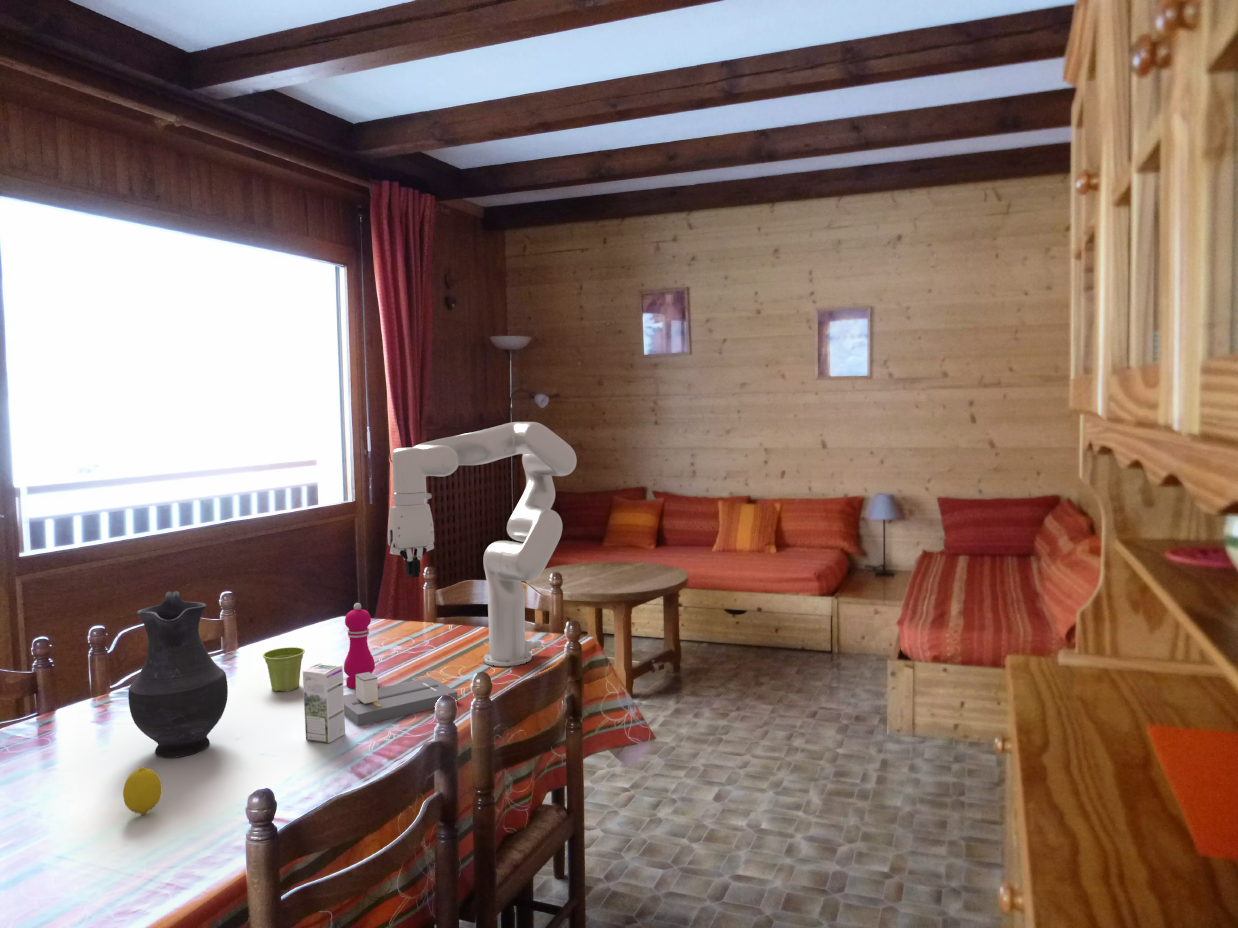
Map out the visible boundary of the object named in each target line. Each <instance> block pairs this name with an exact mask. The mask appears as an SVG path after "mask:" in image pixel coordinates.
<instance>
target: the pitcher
mask: <svg viewBox="0 0 1238 928" xmlns="http://www.w3.org/2000/svg"><path fill="white" fill-rule="evenodd" d="M206 608H207V604H206V603H204V602H200V601H187V600H183V598H181V593H180V592H179V591H173V592H172V591H167V592H166V593H165V596H164V599H163V601H162V602H161V603H159V604H155V605H151V606H148V607H144V608H141V609H138V610H137V612H136V614H137V616H138V617H139V618H140V620H141V622H142V623H143V626H144V628H145V630H146V635H147V642H148V644H147V652H146V655H145V660H144V663H143V666H142V668H141V670H140V672H139V674H138V676H137V677H136V678H135V679H134V681H133V682H131V684H130V685H129V688H128V699H127V700H128V706H129V711H130V715H131V717H132V720H133V723H134V724H135V726H136V727H137V728H138V729H139V730H140V731H141V732H142V734H144V735H145V736H147V737H148V738H150V739H151V740H153V741H154V742H155V743H157V745H156V747H155V750H154V754H155V755H156V756H157V757H159V758H164V759H165V758H166V759H167V758H168V759H169V758H170V759H171V758H173V759H174V758H175V759H176V758H181V757H182V758H183V757H185V756H186V757H187V756H190V755H193V754H197V753H199V752H202V751H203V750H205V749H206V748H208V747H209V745H210V744H211V743H210V742H211V741H210V739H209V737H208V734H209V733H211V732H212V730H213V729H214V728H215V726H216V725H217V724H218V723H219V722H220V720H221V719H222V717H223V714H224V712H225V709H226V706H227V702H228V694H229V691H228V690H229V689H228V687H229V686H228V680H227V674H226V673H227V672H225V670H224V669H223V668H221V667H219V666H218V664H217V663H216V662H215V661H214V660H213V658H212V657H211V656H210V654H209V652H208V651H207V649H206V647H205V645H204V642H203V641H202V638H201V636H200V632H199V629H200V628H199V627H200V621H201V619H202V615H203V612H204V611H205V609H206Z"/></svg>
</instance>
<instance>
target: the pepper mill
mask: <svg viewBox="0 0 1238 928" xmlns="http://www.w3.org/2000/svg"><path fill="white" fill-rule="evenodd" d="M371 622H372V617H371V614H370V612H369V611H367V610H365V609H362V605H361V603H360V602H355V603H354V605H353V609H351V610H350V611H349V612H347V613H346V615H345V618H344V625H345V627H346V628H347V637H348V638H349V648H348V652H347V654H346V657H345V660H344V663H343V672H344V673H345V674H346V675H347V677H346V679H345V680H346V683H345V684H346V687H348V688H350V689H356V676H355V675H356V674H361V673H366V672H370V673H371V674H373V672H374V670H375V669H376V665H375V659H374V657H373V655H372V653H371V651H370V648H369V645H368V643H369V642H368V636H369V635H370V632H369V631H370V628H369V626H370V624H371Z"/></svg>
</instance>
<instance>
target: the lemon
mask: <svg viewBox="0 0 1238 928" xmlns="http://www.w3.org/2000/svg"><path fill="white" fill-rule="evenodd" d="M162 787H163V785H162V782H161V778H160V776H159V774H158V773H157V772H156V771H155V770H153V769H151V768H147V767H144V766H140V767H139V768H138V769H136V770H135V771H133V772H131V773H130V774H129V775H128V777H127V778H126V780H125V782H124V786H123V791H122V793H123V802H124V803H125V806H126V807H127V809H129V810H130V811H131V812H133V813H137V814H139V815H141V816H145V815H147V813H148V812H149V811H151V810H152V809H154V808H155V807H156V806H157V804H158V803H159V802H160V799H161V796H162V791H163V789H162Z"/></svg>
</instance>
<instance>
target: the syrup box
mask: <svg viewBox="0 0 1238 928" xmlns="http://www.w3.org/2000/svg"><path fill="white" fill-rule="evenodd" d="M343 672H344V666H342V665H340V664H339V665H338V664H327V663H318V664H315V665H312V666H310V667H308V668H307V669H304V670H302V681H303V704H304V706H303V707H304V710H303V711H304V724H305V726H304V727H305V729H304V730H305V741H310V742H317V743H324V744H330V743H332V742H333V741H336V740H338V739H339V738H340V737H342V736H344V735H346V720H345V715H344V694H345V693H344V673H343Z"/></svg>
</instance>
